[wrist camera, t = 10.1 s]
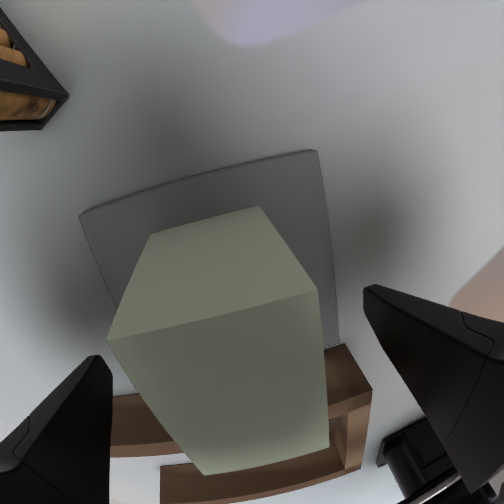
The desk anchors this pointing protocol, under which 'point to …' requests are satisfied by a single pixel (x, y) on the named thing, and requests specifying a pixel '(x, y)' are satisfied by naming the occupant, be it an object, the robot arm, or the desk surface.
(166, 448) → the frame
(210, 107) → the desk surface
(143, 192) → the mat
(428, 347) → the robot arm
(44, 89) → the ammunition clip
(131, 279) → the block
